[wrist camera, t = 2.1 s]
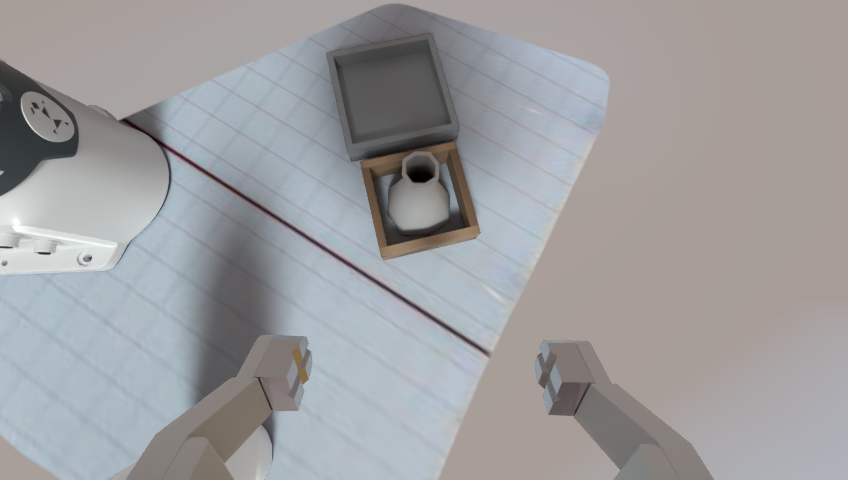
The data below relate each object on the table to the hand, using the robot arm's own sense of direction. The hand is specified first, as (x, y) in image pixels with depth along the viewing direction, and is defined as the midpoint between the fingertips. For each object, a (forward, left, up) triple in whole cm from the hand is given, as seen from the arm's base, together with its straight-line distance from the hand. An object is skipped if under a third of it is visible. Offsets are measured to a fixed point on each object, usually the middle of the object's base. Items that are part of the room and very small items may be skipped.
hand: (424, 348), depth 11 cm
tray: (+3, +25, -23) cm, 34 cm away
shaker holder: (+3, +12, -23) cm, 26 cm away
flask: (+3, +12, -23) cm, 26 cm away
